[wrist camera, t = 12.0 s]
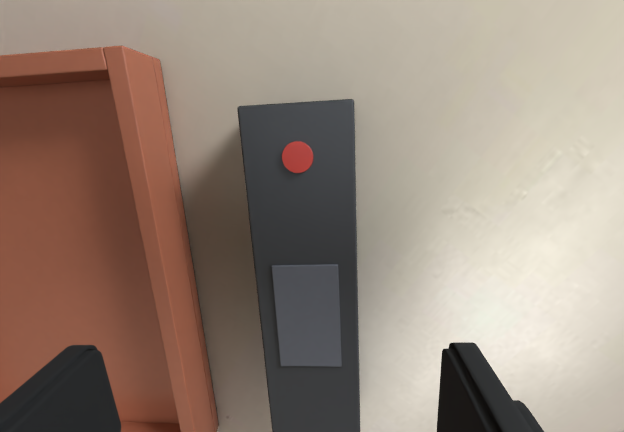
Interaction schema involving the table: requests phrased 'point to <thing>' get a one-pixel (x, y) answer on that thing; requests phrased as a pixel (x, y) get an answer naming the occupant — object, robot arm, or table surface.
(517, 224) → the table surface
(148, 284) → the tray
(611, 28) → the table surface
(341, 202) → the tv remote
